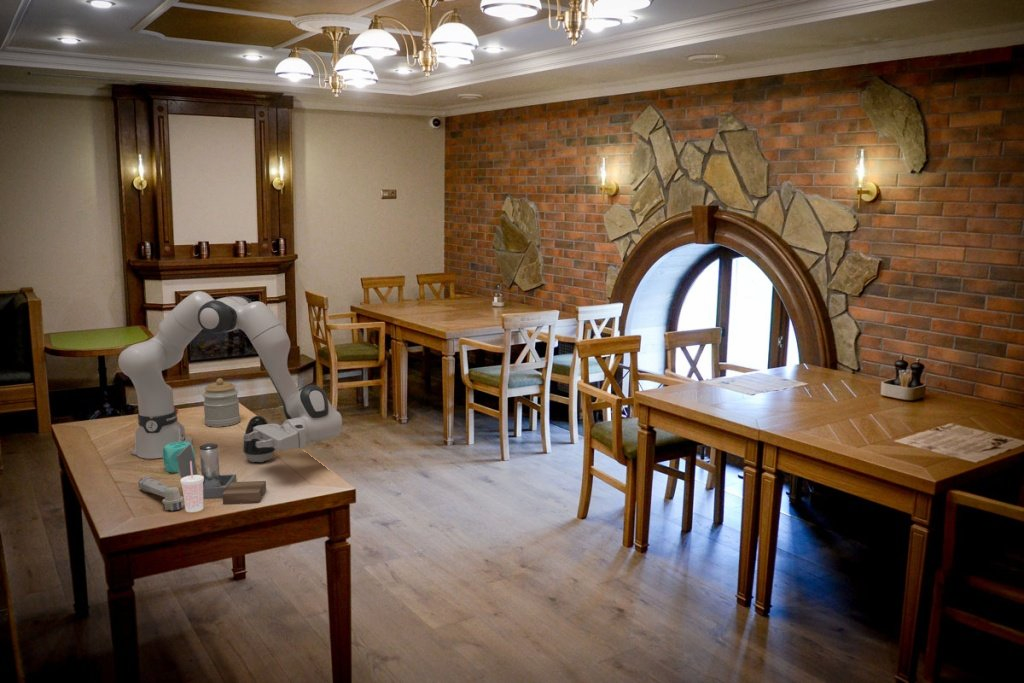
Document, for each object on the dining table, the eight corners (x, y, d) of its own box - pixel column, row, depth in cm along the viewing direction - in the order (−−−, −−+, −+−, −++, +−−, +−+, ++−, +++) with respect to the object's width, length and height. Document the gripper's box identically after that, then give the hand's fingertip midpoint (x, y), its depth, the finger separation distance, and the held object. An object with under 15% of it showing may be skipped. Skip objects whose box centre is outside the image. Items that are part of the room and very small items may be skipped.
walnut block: (231, 491, 244) (231, 482, 243) (266, 490, 244) (265, 480, 244) (222, 504, 234) (222, 494, 233) (258, 502, 235) (258, 492, 234)
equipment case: (191, 485, 249) (187, 444, 247) (236, 483, 250) (233, 442, 248) (179, 499, 238) (175, 456, 235) (227, 497, 239) (223, 454, 237)
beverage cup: (199, 503, 234) (195, 456, 232) (210, 508, 230) (206, 460, 228) (178, 509, 230) (174, 461, 227) (189, 515, 226) (185, 466, 223)
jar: (236, 426, 312) (233, 381, 309) (201, 428, 310) (197, 382, 307) (243, 417, 325) (240, 374, 322) (209, 419, 323) (205, 375, 320)
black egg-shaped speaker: (239, 465, 267) (235, 420, 265) (250, 455, 278) (247, 411, 275) (269, 465, 267) (267, 420, 264) (280, 455, 277) (277, 412, 274)
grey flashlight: (152, 474, 248) (184, 483, 230) (155, 495, 249) (187, 507, 230) (134, 478, 245) (165, 488, 226) (137, 500, 245) (168, 512, 227)
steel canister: (205, 488, 246) (202, 443, 244) (222, 488, 247) (219, 443, 244) (200, 494, 241) (197, 448, 239) (218, 494, 242) (215, 448, 239)
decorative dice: (170, 474, 259) (167, 450, 257) (163, 468, 265) (161, 444, 264) (196, 469, 264) (194, 445, 262) (189, 463, 270) (187, 439, 268)
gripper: (279, 416, 265) (236, 424, 257) (306, 429, 249) (262, 438, 241) (280, 435, 266) (238, 444, 258) (307, 449, 250) (264, 459, 242)
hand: (250, 441), depth 249 cm, fingers open, 8 cm apart
